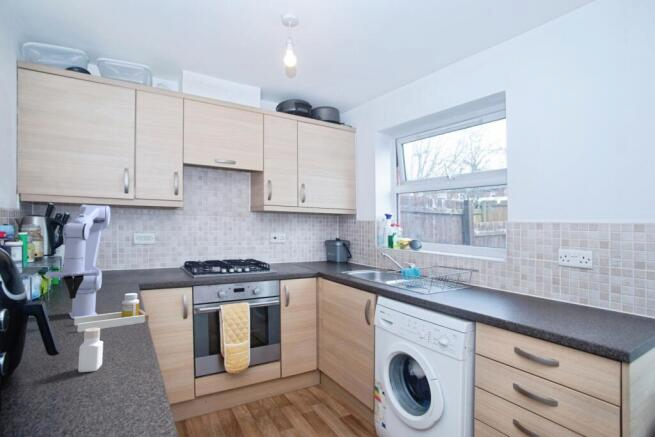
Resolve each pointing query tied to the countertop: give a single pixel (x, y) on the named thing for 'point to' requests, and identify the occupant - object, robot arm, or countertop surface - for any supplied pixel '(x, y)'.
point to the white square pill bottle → (90, 351)
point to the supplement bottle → (130, 305)
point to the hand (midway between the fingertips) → (72, 298)
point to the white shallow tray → (108, 320)
